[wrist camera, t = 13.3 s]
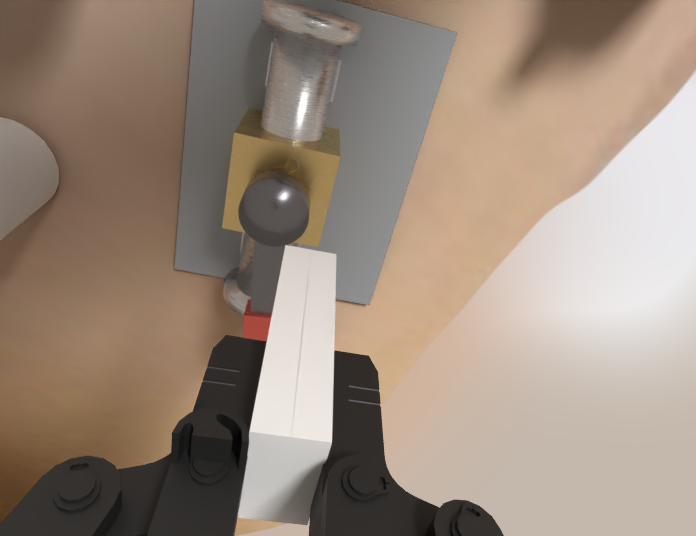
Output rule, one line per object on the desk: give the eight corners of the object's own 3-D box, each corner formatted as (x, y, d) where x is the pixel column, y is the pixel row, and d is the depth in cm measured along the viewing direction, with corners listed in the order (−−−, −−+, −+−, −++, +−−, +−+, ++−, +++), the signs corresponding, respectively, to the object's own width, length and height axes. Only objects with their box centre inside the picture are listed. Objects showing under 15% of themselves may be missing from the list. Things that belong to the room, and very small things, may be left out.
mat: (199, -38, 33) (197, -38, 33) (455, 32, 36) (457, 33, 35) (176, 265, 45) (174, 269, 45) (369, 301, 48) (369, 305, 47)
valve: (265, -6, 34) (247, 1, 27) (364, 20, 35) (371, 34, 28) (227, 267, 45) (207, 322, 38) (303, 282, 46) (297, 338, 39)
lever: (244, 166, 32) (239, 177, 30) (314, 175, 32) (312, 187, 30) (236, 349, 39) (231, 367, 38) (291, 355, 40) (289, 373, 38)
